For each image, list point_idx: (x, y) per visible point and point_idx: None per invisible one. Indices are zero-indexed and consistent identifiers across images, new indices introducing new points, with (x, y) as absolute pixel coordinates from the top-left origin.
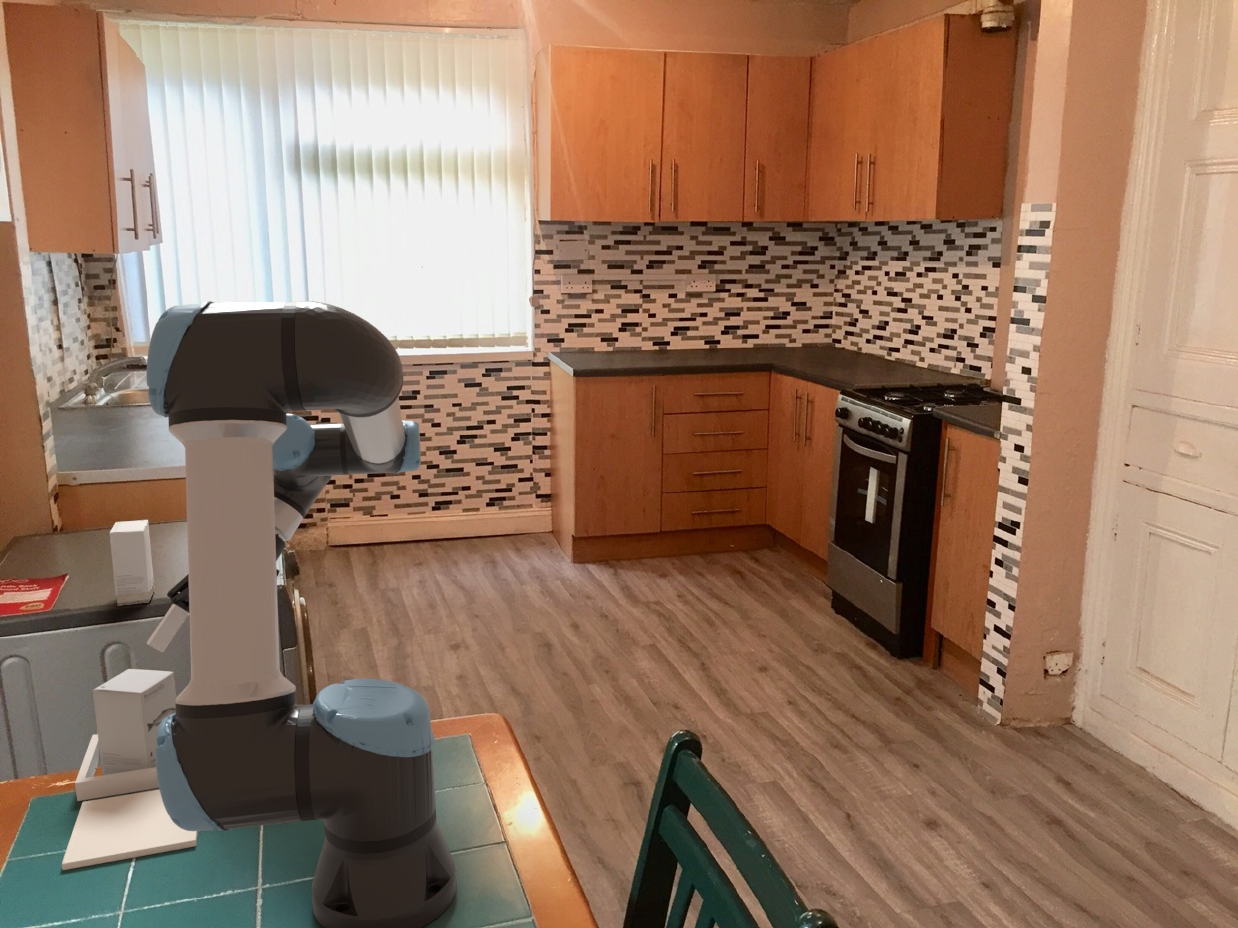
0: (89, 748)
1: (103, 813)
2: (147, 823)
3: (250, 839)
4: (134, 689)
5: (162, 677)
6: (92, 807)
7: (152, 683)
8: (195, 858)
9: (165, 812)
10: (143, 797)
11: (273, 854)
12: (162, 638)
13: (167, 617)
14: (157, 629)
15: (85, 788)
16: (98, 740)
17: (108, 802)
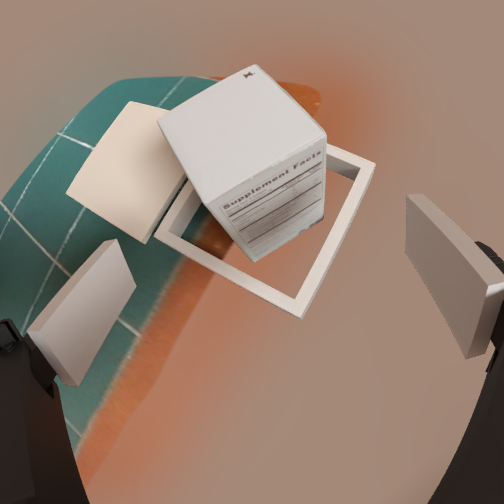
0: (328, 146)
1: None
2: (118, 165)
3: (43, 236)
4: (180, 112)
5: (191, 171)
6: None
7: (178, 145)
8: (59, 189)
9: (120, 185)
10: (167, 175)
11: (21, 240)
12: (418, 241)
13: (454, 247)
14: (436, 216)
15: None
16: (351, 164)
17: None
